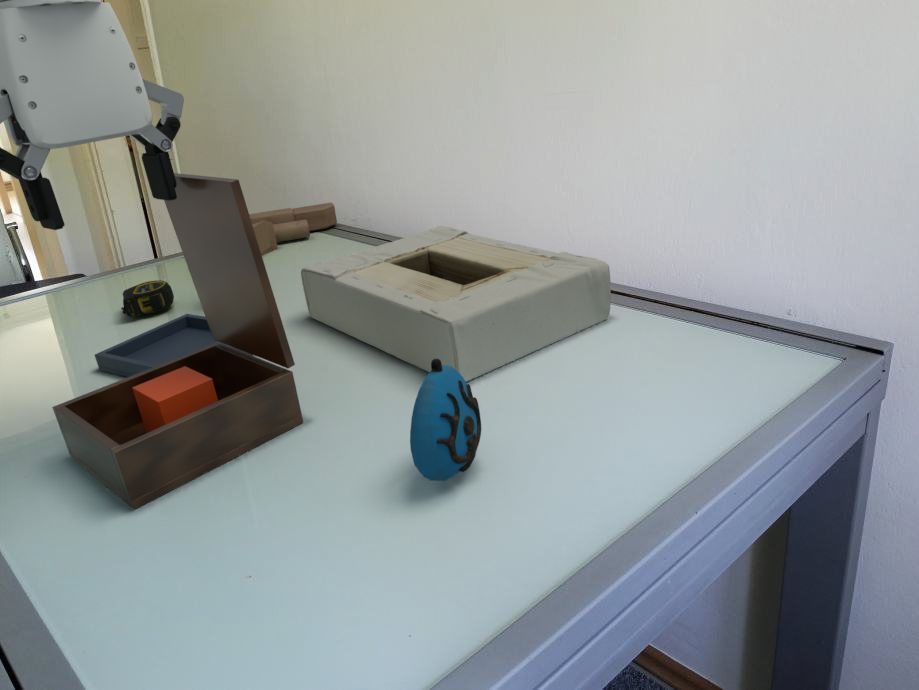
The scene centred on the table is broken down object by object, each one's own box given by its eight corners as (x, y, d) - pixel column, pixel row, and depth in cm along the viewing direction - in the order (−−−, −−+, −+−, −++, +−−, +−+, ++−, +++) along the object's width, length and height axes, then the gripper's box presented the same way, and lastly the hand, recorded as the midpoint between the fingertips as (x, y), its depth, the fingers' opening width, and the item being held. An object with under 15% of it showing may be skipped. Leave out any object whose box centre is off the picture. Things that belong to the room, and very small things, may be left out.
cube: (173, 453, 64) (157, 401, 62) (147, 437, 68) (131, 387, 66) (225, 428, 68) (212, 378, 66) (198, 413, 71) (185, 365, 69)
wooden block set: (237, 210, 138) (331, 195, 142) (243, 239, 140) (336, 224, 144) (237, 229, 123) (342, 211, 127) (244, 261, 125) (348, 243, 129)
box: (614, 318, 85) (444, 270, 108) (613, 255, 82) (438, 219, 105) (462, 394, 72) (306, 320, 95) (454, 322, 69) (295, 264, 92)
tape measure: (127, 309, 107) (120, 285, 105) (176, 299, 109) (169, 275, 107) (126, 324, 101) (118, 298, 99) (177, 313, 103) (170, 288, 101)
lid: (230, 182, 58) (238, 179, 59) (154, 174, 67) (162, 171, 68) (288, 368, 66) (295, 365, 67) (213, 339, 75) (220, 336, 76)
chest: (134, 510, 58) (114, 452, 56) (70, 458, 67) (51, 407, 65) (303, 422, 69) (292, 371, 67) (229, 387, 78) (217, 341, 76)
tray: (99, 370, 86) (94, 354, 85) (190, 328, 97) (186, 313, 96) (185, 391, 78) (180, 373, 77) (275, 342, 89) (271, 326, 88)
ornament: (456, 506, 54) (441, 386, 50) (402, 496, 56) (383, 380, 52) (496, 448, 61) (486, 339, 57) (446, 441, 63) (433, 335, 59)
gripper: (130, -11, 62) (183, 187, 69) (-105, 0, 51) (-14, 237, 58) (173, -24, 58) (225, 191, 64) (-76, -15, 46) (20, 245, 53)
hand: (112, 212), depth 61 cm, fingers open, 9 cm apart
